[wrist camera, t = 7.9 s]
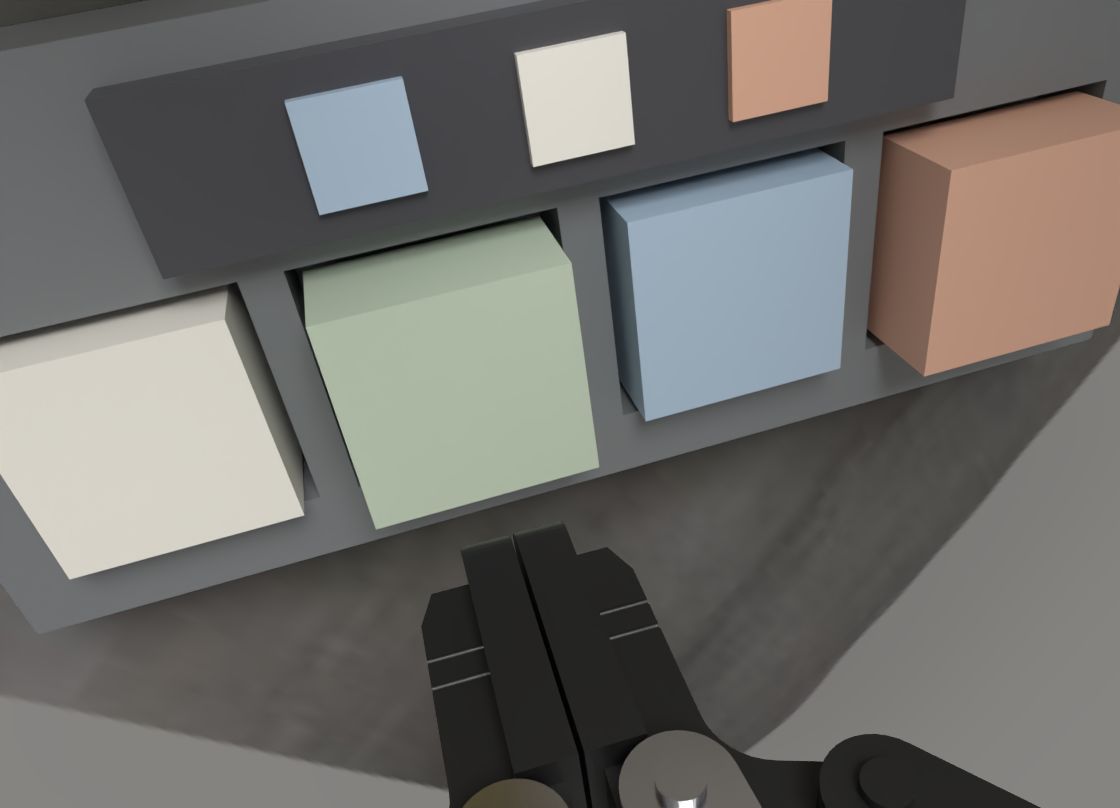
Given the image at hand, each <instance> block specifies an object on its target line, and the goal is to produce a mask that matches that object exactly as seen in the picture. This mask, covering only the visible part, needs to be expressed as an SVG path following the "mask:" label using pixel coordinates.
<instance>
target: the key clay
mask: <svg viewBox="0 0 1120 808" xmlns="http://www.w3.org/2000/svg"><path fill="white" fill-rule="evenodd" d="M1119 287H1120V104H1116V103H1113V102H1110V101H1107V100H1104V99H1101V98H1098V97H1094V96H1091V95H1088V94H1085V93H1082V92H1079V91H1073V92H1068V93H1064V94H1060V95H1055V96H1051V97H1047V98H1043V99H1038V100H1034V101H1030V102H1025V103H1021V104H1017V105H1013V106H1008V107H1004V108H1000V109H995V110H991V111H987V112H982V113H978V114H974V115H970V116H965V117H961V118H957V119H952V120H948V121H944V122H940V123H935V124H931V125H927V126H922V127H918V128H914V129H910V130H905V131H901V132H897V133H892V134H888V135H884V136H883V141H882V153H881V165H880V177H879V189H878V201H877V212H876V224H875V236H874V248H873V260H872V272H871V284H870V296H869V307H868V319H867V329H868V330H869V331H870V332H871V333H873V334H874V335H875V336H876V337H877V338H879V339H880V340H881V341H882V342H883V343H885V344H886V345H887V346H888V347H889V348H891V349H892V350H893V351H894V352H895V353H897V354H898V355H899V356H900V357H901V358H902V359H904V360H905V361H906V362H907V363H908V364H910V365H911V366H912V367H913V368H914V369H916V370H917V371H918V372H919V373H920V374H922V375H923V376H928V375H932V374H935V373H939V372H942V371H946V370H950V369H953V368H957V367H960V366H964V365H967V364H971V363H975V362H978V361H982V360H985V359H989V358H993V357H996V356H1000V355H1003V354H1007V353H1010V352H1014V351H1018V350H1021V349H1025V348H1028V347H1032V346H1036V345H1039V344H1043V343H1046V342H1050V341H1053V340H1057V339H1061V338H1064V337H1068V336H1071V335H1075V334H1079V333H1082V332H1086V331H1089V330H1093V329H1096V328H1100V327H1104V326H1107V325H1109V324H1110V320H1111V316H1112V313H1113V309H1114V305H1115V302H1116V298H1117V294H1118V290H1119Z"/></svg>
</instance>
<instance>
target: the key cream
mask: <svg viewBox="0 0 1120 808" xmlns="http://www.w3.org/2000/svg"><path fill="white" fill-rule="evenodd" d="M0 474H1V476H2V477H3V479H4V480H5V482H6V484H7V485H8V487H9V488H10V490H11V491H12V493H13V494H14V496H15V497H16V499H17V500H18V502H19V503H20V505H21V506H22V508H23V509H24V511H25V512H26V514H27V515H28V517H29V519H30V520H31V522H32V523H33V525H34V526H35V528H36V529H37V531H38V532H39V534H40V535H41V537H42V538H43V540H44V541H45V543H46V544H47V546H48V547H49V549H50V551H51V552H52V554H53V555H54V557H55V558H56V560H57V561H58V563H59V564H60V566H61V567H62V569H63V570H64V572H65V573H66V575H67V576H68V578H69V579H74V578H77V577H81V576H85V575H88V574H92V573H96V572H99V571H103V570H106V569H110V568H114V567H117V566H121V565H125V564H128V563H132V562H136V561H139V560H143V559H147V558H150V557H154V556H158V555H161V554H165V553H169V552H172V551H176V550H180V549H183V548H187V547H191V546H194V545H198V544H202V543H205V542H209V541H213V540H216V539H220V538H223V537H227V536H231V535H234V534H238V533H242V532H245V531H249V530H253V529H256V528H260V527H264V526H267V525H271V524H275V523H278V522H282V521H286V520H289V519H293V518H297V517H300V516H304V488H303V459H302V449H301V446H300V444H299V441H298V438H297V436H296V433H295V431H294V428H293V425H292V423H291V420H290V418H289V415H288V413H287V410H286V407H285V405H284V402H283V400H282V397H281V394H280V392H279V389H278V387H277V384H276V382H275V379H274V376H273V374H272V371H271V369H270V366H269V363H268V361H267V358H266V356H265V353H264V351H263V348H262V345H261V343H260V340H259V338H258V335H257V332H256V330H255V327H254V325H253V322H252V320H251V317H250V314H249V312H248V309H247V307H246V304H245V301H244V299H243V296H242V294H241V291H240V289H239V286H238V283H237V282H235V283H231V284H226V285H222V286H218V287H213V288H209V289H205V290H201V291H196V292H192V293H188V294H183V295H179V296H175V297H171V298H166V299H162V300H158V301H153V302H149V303H145V304H140V305H136V306H132V307H128V308H123V309H119V310H115V311H110V312H106V313H102V314H97V315H93V316H89V317H85V318H80V319H76V320H72V321H67V322H63V323H59V324H54V325H50V326H46V327H42V328H37V329H33V330H29V331H24V332H20V333H16V334H11V335H7V336H3V337H0Z"/></svg>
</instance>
